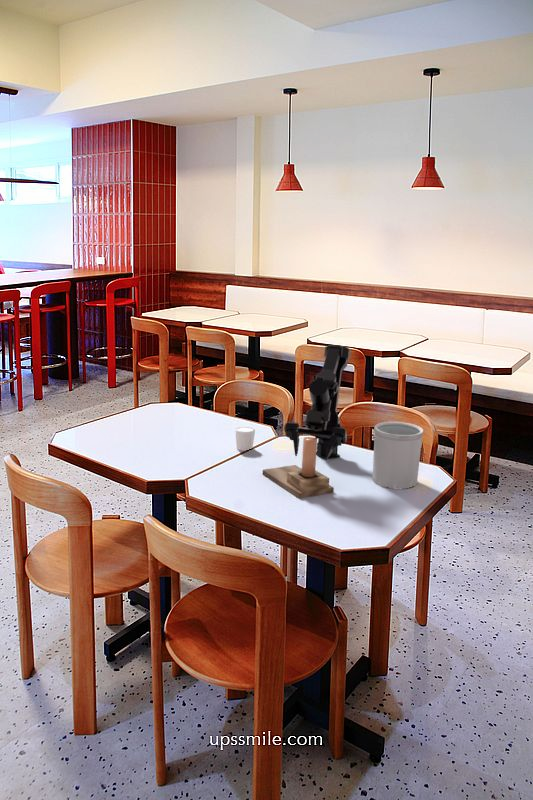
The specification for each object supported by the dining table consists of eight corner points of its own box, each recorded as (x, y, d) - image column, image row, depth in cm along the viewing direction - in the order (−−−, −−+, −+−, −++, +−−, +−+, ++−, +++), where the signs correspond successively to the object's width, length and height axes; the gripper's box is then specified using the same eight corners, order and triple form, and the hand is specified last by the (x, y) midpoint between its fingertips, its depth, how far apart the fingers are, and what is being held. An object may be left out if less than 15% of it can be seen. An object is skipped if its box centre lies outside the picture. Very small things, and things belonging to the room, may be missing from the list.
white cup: (231, 449, 238) (232, 430, 236) (239, 444, 244) (240, 425, 242) (249, 452, 235) (250, 433, 234) (257, 447, 241) (258, 428, 240)
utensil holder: (403, 494, 202) (408, 437, 198) (361, 481, 212) (365, 427, 207) (427, 482, 213) (432, 428, 209) (385, 470, 223) (390, 418, 218)
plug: (310, 471, 204) (312, 436, 202) (317, 475, 201) (319, 440, 198) (298, 473, 202) (300, 438, 200) (306, 477, 199) (308, 441, 196)
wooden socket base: (295, 469, 220) (295, 456, 219) (333, 492, 201) (334, 478, 200) (262, 474, 214) (263, 460, 213) (299, 498, 196) (299, 483, 195)
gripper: (286, 396, 206) (276, 441, 198) (348, 402, 202) (339, 448, 194) (291, 414, 215) (281, 458, 208) (350, 420, 211) (342, 465, 203)
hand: (310, 457), depth 203 cm, fingers open, 9 cm apart
